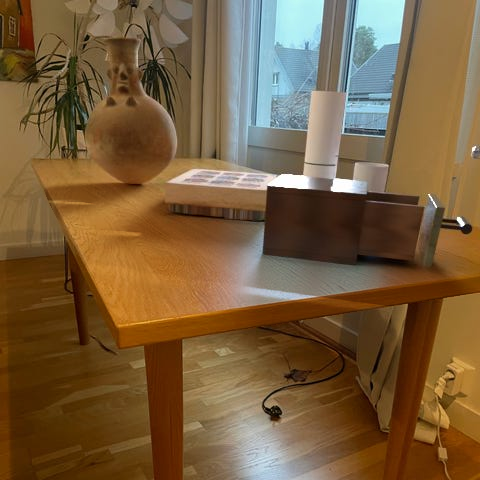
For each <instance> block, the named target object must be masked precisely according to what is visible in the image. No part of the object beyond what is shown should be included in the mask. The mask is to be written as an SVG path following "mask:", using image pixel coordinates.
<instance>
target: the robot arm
mask: <svg viewBox="0 0 480 480" xmlns="http://www.w3.org/2000/svg"><path fill="white" fill-rule="evenodd" d="M470 157H471V158H473V159H475V160H480V145H474V146H473V147H472V149H471V153H470Z"/></svg>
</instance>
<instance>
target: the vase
mask: <svg viewBox="0 0 480 480" xmlns="http://www.w3.org/2000/svg"><path fill="white" fill-rule="evenodd" d="M102 41H103V43H104V45H105V47H106V50H107V53H108V57H109V62H110V66H109V68H108V69H107V71H106V75H107V77H108V79H109V80H110V81H111V88H110V91H109V94H108V95H107V96H106V97H105V98H103V99H102V100H100V101H99V102H98V103H97V104H96V105H95V107H94V108H93V109H92V111H91V112H90V114H89V116H88V119H87V121H86V124H85V129H84V142H85V148H86V151H87V153H88V155H89V157H90V159H92V161H93V162H94V163H95V164H96V165H97V166H98V167H99V168H100V169H101V170H103V171H104V172H105V173H107V174H108V175H109V176H111V177H112V178H114V179H116V180H118V181H119V182H122V183H125V184H129V185H139V184H140V185H141V184H145V183H148V182H150V181H151V180H153V179H154V178H156V177H158V176H159V175H160V174H161V173H163V171H165V170H166V169H167V168H168V167H169V166H170V164H171V163H172V162H173V160H174V158H175V156H176V153H177V148H178V136H177V132H176V128H175V124H174V122H173V119H172V117H171V116H170V114H169V113H168V111H167V110H166V109H165V107H164V106H163V105H162V104H160V102H158V101H157V100H155V99H154V98H152V97H150V96H149V95H148V94H147V93H146V92H145V90H144V86H143V84H142V79H143V77H144V72H143V70H142V69H141V68H139V49H140V46H141V44H142V40H141V39H140V38H136V37H124V36H112V37H111V36H110V37H106V38H103V39H102Z"/></svg>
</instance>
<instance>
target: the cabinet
mask: <svg viewBox="0 0 480 480" xmlns="http://www.w3.org/2000/svg"><path fill="white" fill-rule="evenodd" d="M367 188H368V182H364V181H353V179H341V178H335V179H329V178H317V177H306V176H303V175H293V174H281V175H278V178H277V179H275V180H274V181H273V182H271V183H270V184H269V185H267V195H266V210H265V220H264V226H263V239H262V255H267V256H276V257H282V258H283V257H285V258H291V259H300V260H307V261H315V262H324V263H325V262H326V263H333V264H342V265H349V266H356V265H357V259H358V254H357V253H358V247H359V241H360V234H361V228H362V222H363V215H364V209H365V203H366V196H367Z"/></svg>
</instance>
